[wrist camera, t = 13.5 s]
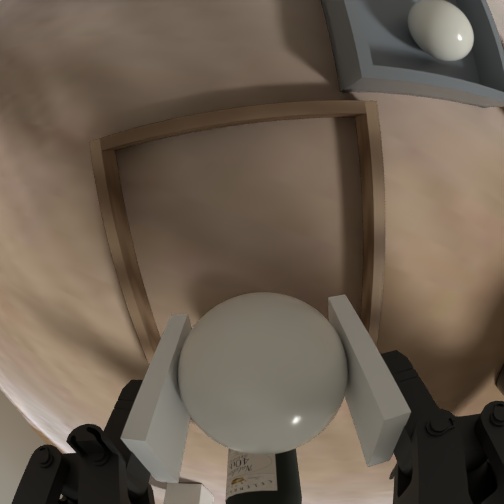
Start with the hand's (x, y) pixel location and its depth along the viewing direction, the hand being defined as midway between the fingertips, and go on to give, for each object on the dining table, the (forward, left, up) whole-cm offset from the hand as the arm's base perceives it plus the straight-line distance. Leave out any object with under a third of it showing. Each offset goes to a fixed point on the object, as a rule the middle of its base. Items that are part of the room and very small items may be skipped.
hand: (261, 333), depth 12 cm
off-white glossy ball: (+18, -17, -11) cm, 27 cm away
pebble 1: (0, 0, 0) cm, 0 cm away
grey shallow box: (+21, -17, -13) cm, 29 cm away
